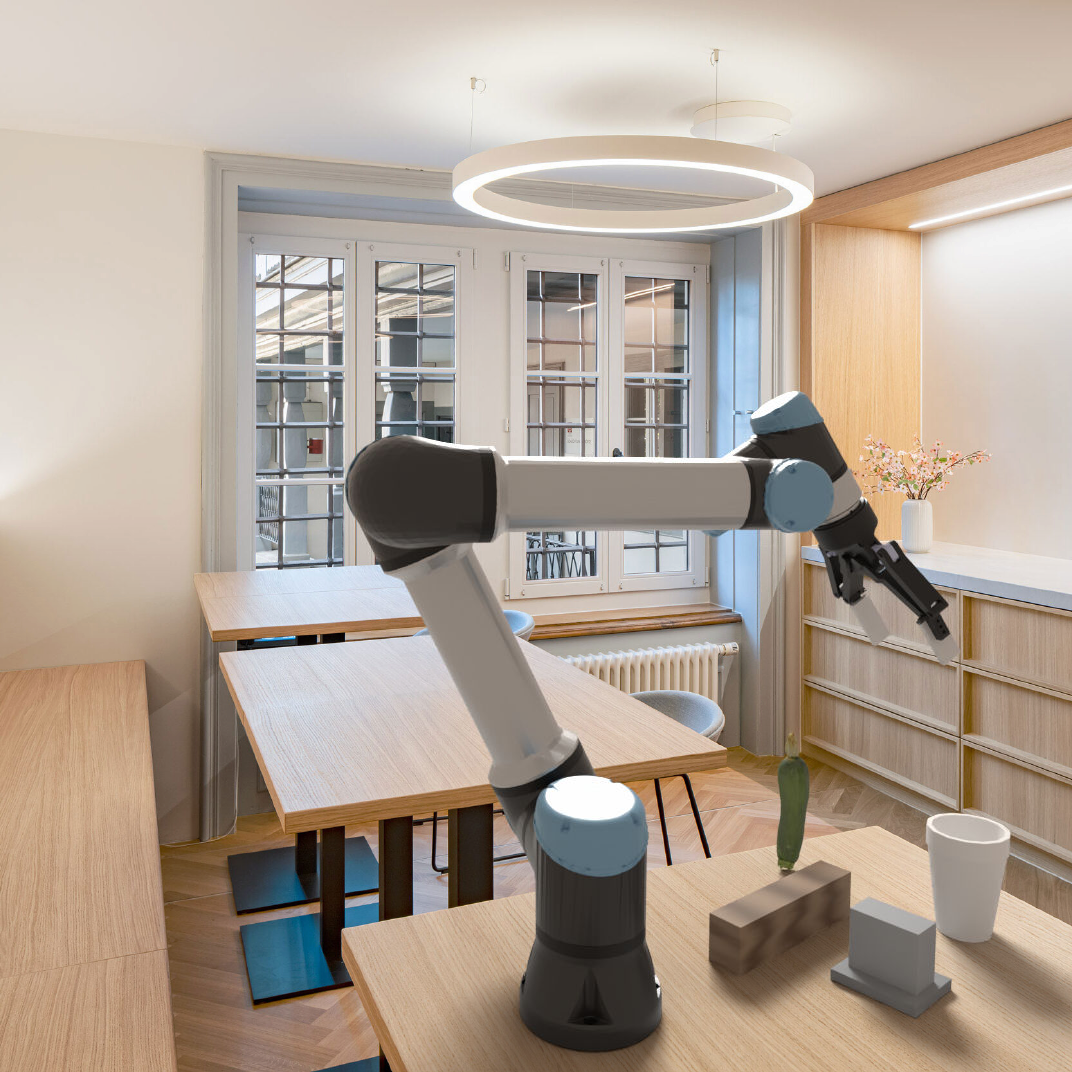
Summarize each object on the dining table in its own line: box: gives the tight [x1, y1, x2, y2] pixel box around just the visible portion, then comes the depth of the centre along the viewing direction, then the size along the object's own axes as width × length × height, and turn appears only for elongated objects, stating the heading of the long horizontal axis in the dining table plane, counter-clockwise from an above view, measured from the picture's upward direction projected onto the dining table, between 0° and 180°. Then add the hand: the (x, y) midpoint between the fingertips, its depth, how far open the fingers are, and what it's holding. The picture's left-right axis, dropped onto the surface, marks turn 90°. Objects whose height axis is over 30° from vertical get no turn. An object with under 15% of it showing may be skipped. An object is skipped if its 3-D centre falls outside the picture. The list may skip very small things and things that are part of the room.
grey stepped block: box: [830, 896, 953, 1019], centre depth 107 cm, size 8×10×8 cm
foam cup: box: [925, 812, 1011, 944], centre depth 119 cm, size 10×9×13 cm
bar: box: [708, 859, 852, 977], centre depth 117 cm, size 22×4×6 cm, turn 129°
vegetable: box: [776, 732, 810, 870], centre depth 135 cm, size 4×4×20 cm
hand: (914, 648), depth 123 cm, fingers open, 13 cm apart
